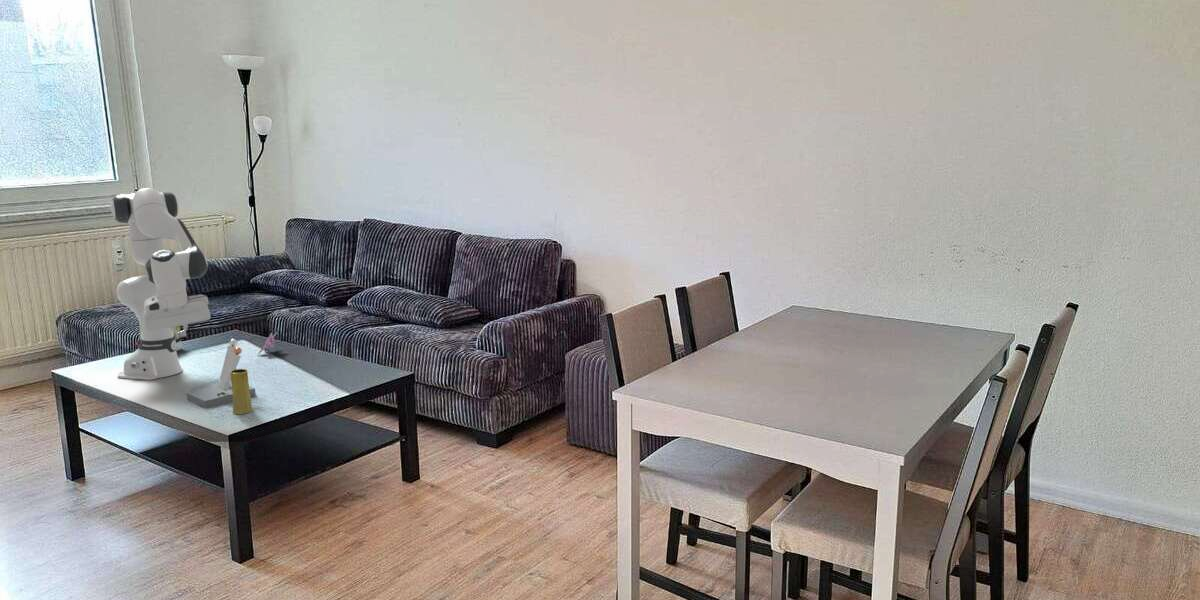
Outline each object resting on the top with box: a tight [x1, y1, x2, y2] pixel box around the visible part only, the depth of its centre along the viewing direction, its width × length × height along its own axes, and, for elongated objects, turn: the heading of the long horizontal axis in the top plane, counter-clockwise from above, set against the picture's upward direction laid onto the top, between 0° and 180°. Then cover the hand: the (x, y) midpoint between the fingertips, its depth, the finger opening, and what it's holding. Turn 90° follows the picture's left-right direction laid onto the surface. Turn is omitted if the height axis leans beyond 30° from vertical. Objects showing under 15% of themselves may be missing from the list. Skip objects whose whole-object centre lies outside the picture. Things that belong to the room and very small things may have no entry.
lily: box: [257, 331, 281, 357], centre depth 361 cm, size 12×12×10 cm
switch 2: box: [218, 346, 243, 391], centre depth 302 cm, size 3×4×16 cm
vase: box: [230, 368, 253, 415], centre depth 289 cm, size 6×6×14 cm
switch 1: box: [219, 338, 238, 382], centre depth 311 cm, size 3×4×16 cm
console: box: [186, 383, 257, 409], centre depth 305 cm, size 18×14×3 cm
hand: (181, 336), depth 292 cm, fingers closed
